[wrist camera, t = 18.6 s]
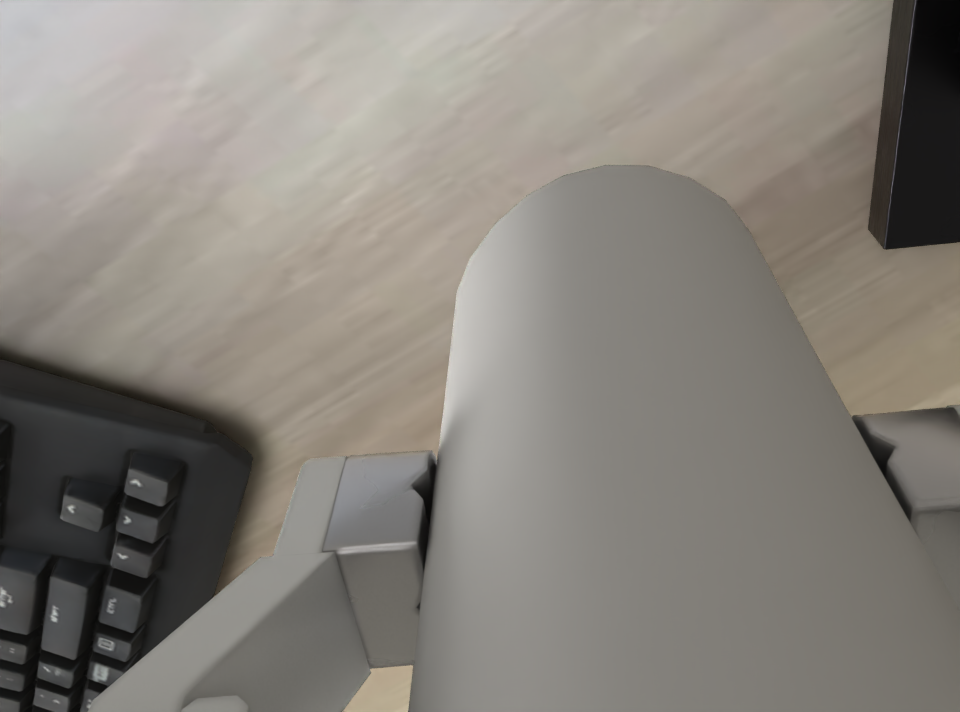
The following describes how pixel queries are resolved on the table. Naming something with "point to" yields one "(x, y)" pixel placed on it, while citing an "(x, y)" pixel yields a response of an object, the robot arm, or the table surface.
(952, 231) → the black hinged clamp mount
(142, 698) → the robot arm
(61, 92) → the table surface
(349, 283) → the table surface
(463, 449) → the beverage can
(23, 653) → the keyboard
